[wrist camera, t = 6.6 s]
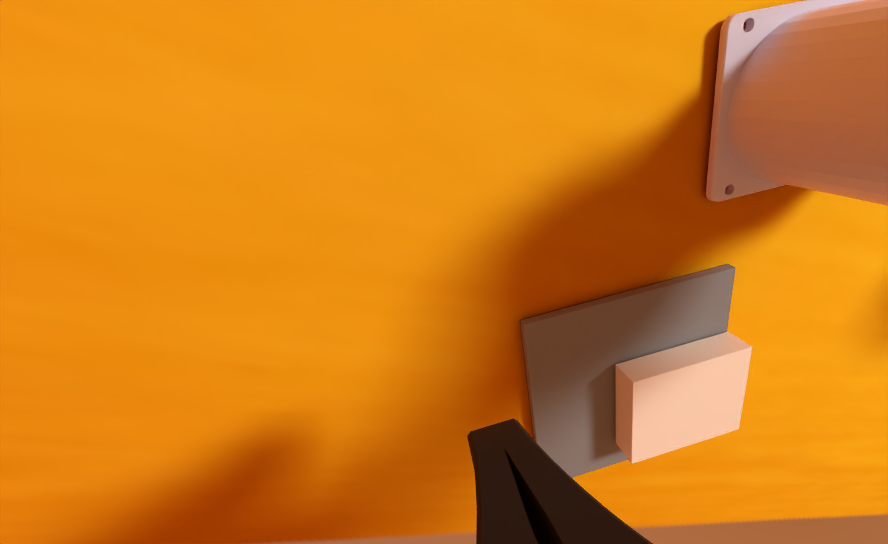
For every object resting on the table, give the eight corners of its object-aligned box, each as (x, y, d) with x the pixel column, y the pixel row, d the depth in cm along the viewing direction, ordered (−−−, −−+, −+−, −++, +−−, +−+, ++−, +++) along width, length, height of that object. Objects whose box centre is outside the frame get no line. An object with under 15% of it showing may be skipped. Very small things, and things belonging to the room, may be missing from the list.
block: (613, 362, 23) (725, 330, 24) (614, 441, 26) (715, 409, 27) (633, 382, 22) (752, 346, 22) (631, 463, 24) (738, 428, 25)
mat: (727, 263, 23) (735, 267, 22) (707, 426, 28) (713, 431, 27) (520, 320, 21) (523, 325, 21) (538, 480, 26) (541, 487, 26)
